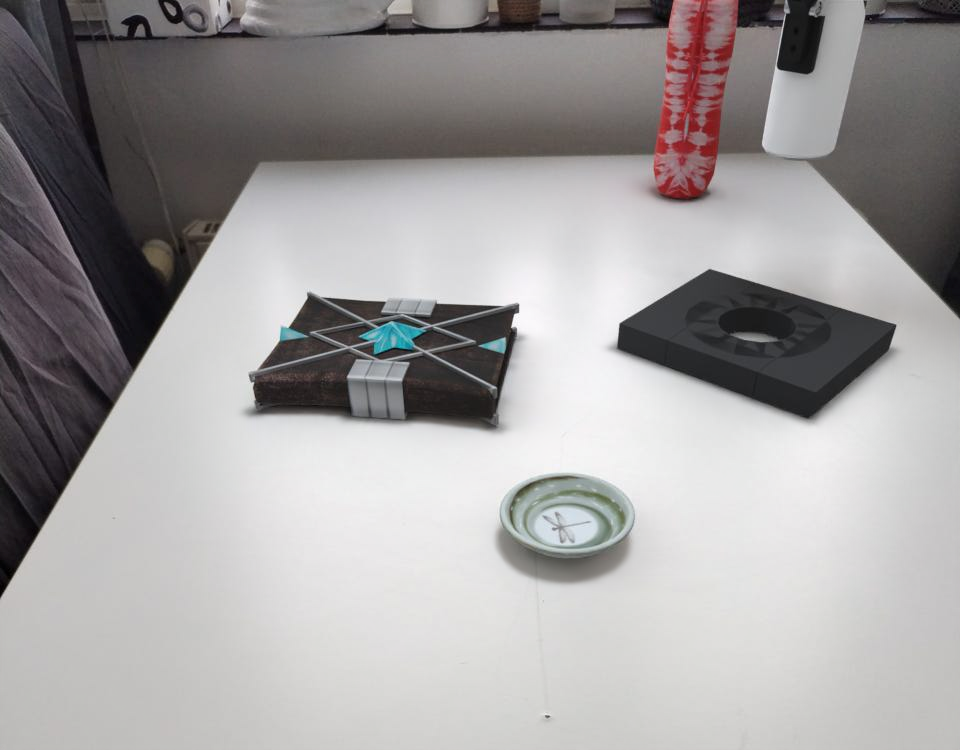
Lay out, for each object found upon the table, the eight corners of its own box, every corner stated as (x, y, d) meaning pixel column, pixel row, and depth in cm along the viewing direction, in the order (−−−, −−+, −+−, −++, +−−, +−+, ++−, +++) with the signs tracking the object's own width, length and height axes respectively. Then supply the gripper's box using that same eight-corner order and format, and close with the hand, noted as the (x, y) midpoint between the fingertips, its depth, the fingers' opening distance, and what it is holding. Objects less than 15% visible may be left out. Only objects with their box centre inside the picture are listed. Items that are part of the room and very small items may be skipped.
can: (757, 159, 80) (786, -4, 72) (764, 137, 84) (791, -19, 76) (832, 164, 78) (870, -1, 70) (835, 142, 83) (872, -17, 74)
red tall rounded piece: (659, 170, 121) (685, -63, 103) (719, 175, 119) (756, -61, 101) (642, 201, 113) (667, -46, 95) (706, 207, 111) (743, -44, 93)
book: (254, 412, 78) (242, 359, 75) (310, 325, 90) (302, 276, 87) (497, 428, 76) (497, 374, 72) (522, 336, 88) (523, 286, 84)
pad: (889, 349, 84) (897, 324, 82) (808, 418, 76) (816, 392, 74) (705, 292, 94) (709, 268, 92) (616, 347, 86) (619, 323, 84)
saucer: (659, 549, 64) (663, 522, 62) (545, 596, 61) (546, 569, 59) (582, 483, 70) (584, 456, 68) (476, 522, 67) (475, 495, 65)
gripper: (870, -225, 58) (805, 92, 70) (976, -234, 66) (902, 49, 79) (766, -223, 61) (723, 77, 74) (880, -232, 70) (824, 38, 83)
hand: (816, 60), depth 76 cm, fingers closed on can, 6 cm apart
